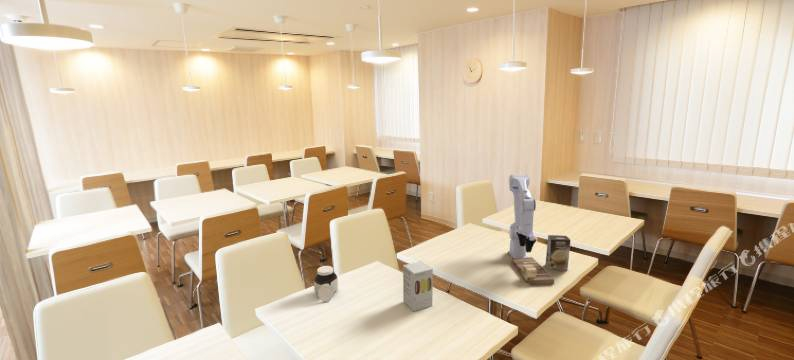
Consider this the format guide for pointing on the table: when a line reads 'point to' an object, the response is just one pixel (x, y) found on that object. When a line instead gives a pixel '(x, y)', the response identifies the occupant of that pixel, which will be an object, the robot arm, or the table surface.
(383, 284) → the table surface
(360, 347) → the table surface
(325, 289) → the spread jar
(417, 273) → the supplement box
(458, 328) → the table surface
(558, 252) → the coffee box
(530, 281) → the walnut board
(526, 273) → the beige block
